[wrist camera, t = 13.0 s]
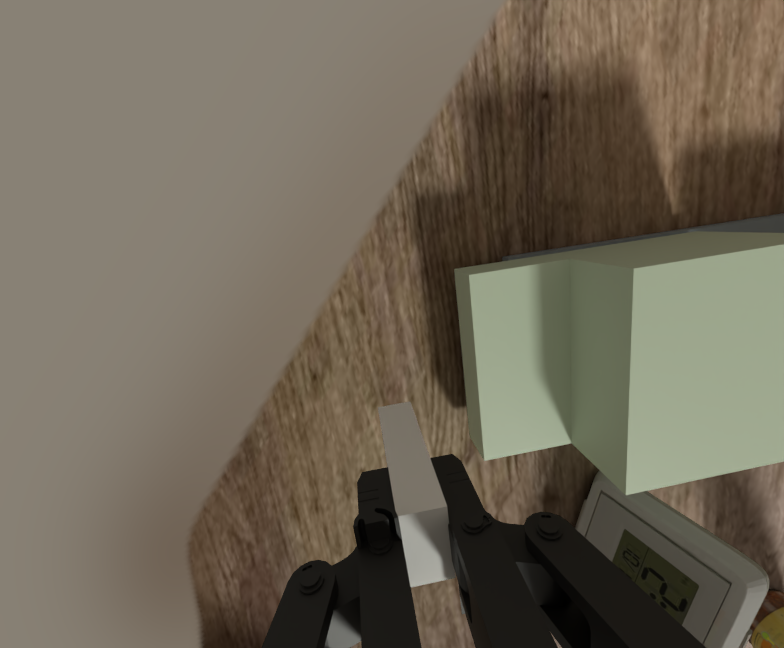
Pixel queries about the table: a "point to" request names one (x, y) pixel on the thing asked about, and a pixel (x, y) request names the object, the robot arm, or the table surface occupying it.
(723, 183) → the table surface
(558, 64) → the table surface
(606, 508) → the digital clock
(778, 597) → the sauce bottle
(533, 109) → the table surface
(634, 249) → the sage cover
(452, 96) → the table surface
